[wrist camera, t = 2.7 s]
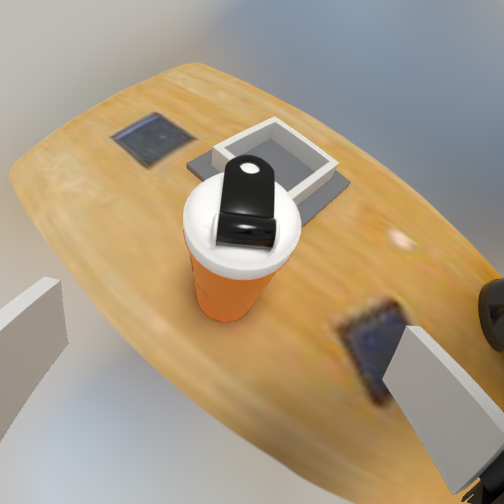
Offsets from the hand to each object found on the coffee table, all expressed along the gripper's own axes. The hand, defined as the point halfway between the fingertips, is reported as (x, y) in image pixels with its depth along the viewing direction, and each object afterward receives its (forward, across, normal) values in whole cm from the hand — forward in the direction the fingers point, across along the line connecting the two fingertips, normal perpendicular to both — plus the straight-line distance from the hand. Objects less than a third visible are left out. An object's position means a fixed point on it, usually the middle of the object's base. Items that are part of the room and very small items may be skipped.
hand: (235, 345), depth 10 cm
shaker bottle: (+25, +1, -10) cm, 27 cm away
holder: (+40, +6, +6) cm, 41 cm away
